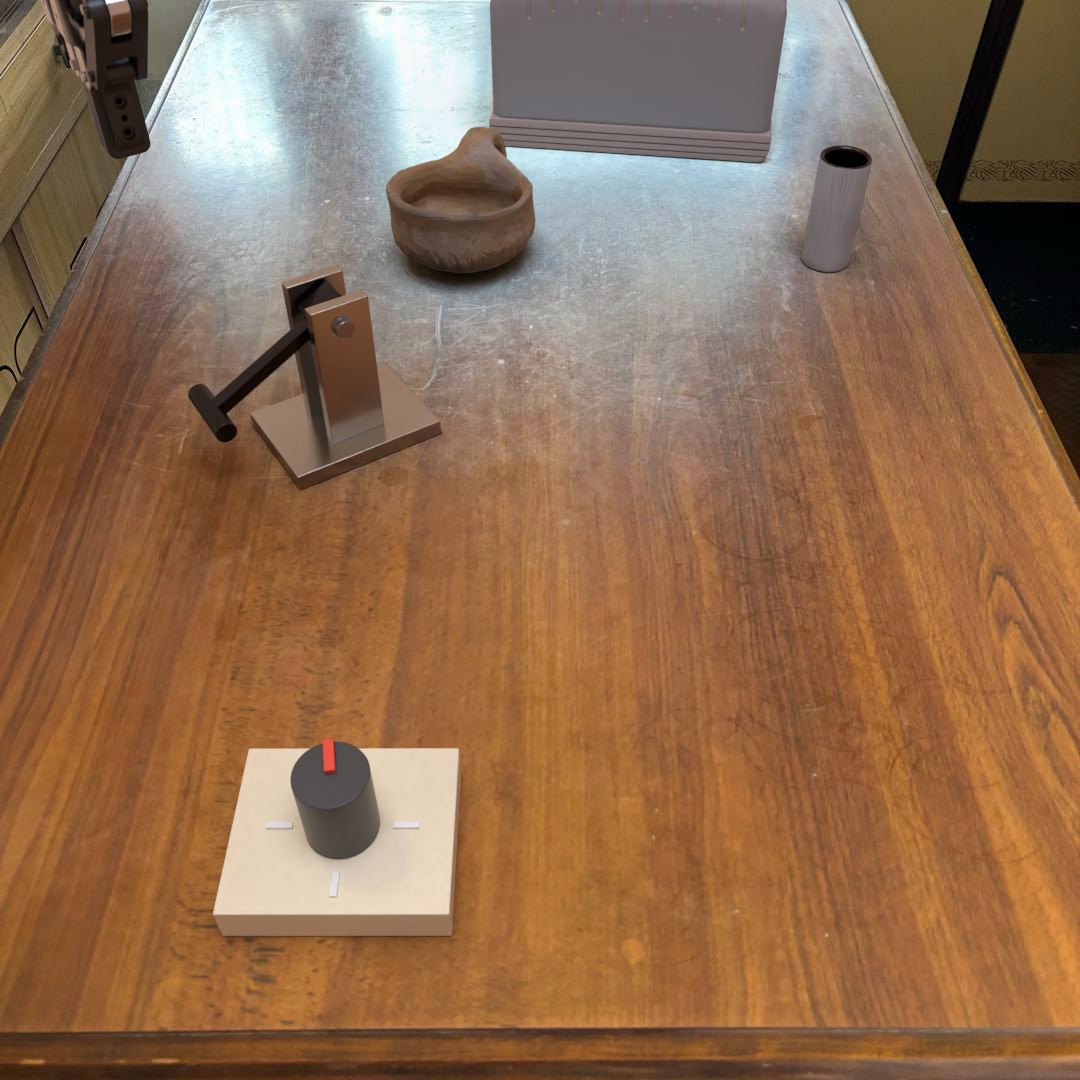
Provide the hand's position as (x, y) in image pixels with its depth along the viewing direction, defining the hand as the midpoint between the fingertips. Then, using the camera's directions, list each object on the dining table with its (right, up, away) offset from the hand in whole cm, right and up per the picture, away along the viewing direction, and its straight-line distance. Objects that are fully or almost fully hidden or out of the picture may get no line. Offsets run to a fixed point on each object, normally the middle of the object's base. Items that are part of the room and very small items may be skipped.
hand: (127, 150), depth 57 cm
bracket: (+6, -12, +29) cm, 32 cm away
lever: (+3, -8, +22) cm, 24 cm away
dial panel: (+11, -37, +4) cm, 39 cm away
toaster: (+33, +34, +75) cm, 89 cm away
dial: (+11, -36, +2) cm, 37 cm away
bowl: (+14, +8, +49) cm, 52 cm away
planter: (+48, +6, +47) cm, 68 cm away
